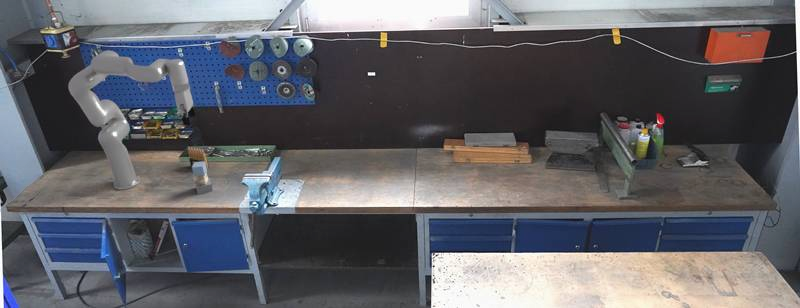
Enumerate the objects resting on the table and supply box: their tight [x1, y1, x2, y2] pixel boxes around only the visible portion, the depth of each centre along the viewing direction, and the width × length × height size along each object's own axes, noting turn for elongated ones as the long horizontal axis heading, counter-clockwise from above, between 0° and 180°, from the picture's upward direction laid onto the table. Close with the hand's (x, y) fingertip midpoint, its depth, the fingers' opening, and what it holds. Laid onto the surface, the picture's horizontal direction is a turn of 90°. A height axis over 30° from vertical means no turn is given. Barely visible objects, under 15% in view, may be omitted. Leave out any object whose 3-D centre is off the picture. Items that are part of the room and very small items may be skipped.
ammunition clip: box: [187, 146, 210, 171], centre depth 285 cm, size 11×2×12 cm, turn 68°
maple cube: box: [193, 171, 209, 187], centre depth 266 cm, size 5×5×5 cm
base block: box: [195, 177, 214, 195], centre depth 268 cm, size 7×7×4 cm
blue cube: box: [191, 161, 208, 176], centre depth 264 cm, size 5×5×5 cm
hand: (189, 120), depth 260 cm, fingers open, 9 cm apart
